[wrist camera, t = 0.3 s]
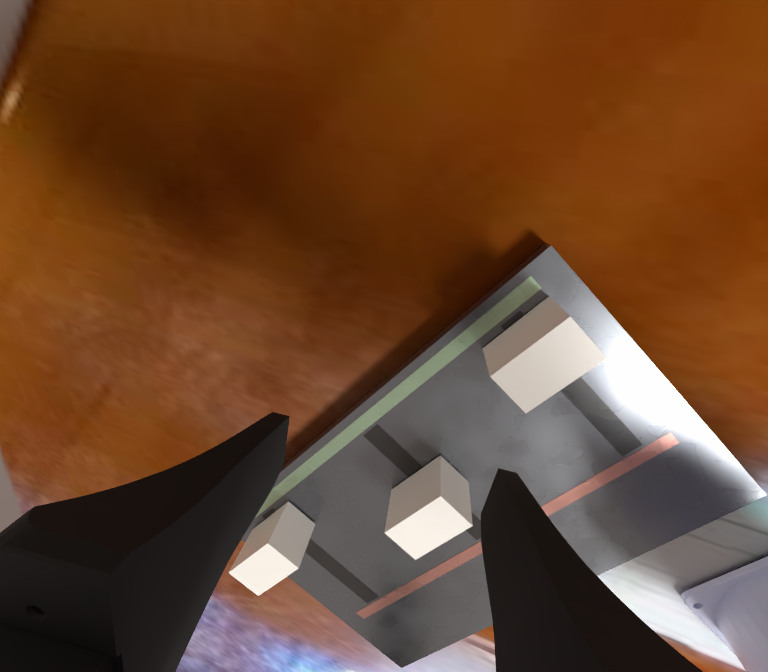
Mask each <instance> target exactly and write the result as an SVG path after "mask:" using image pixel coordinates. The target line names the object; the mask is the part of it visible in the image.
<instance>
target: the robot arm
mask: <svg viewBox="0 0 768 672" xmlns="http://www.w3.org/2000/svg"><path fill="white" fill-rule="evenodd" d="M288 425H289V416H286V415H282V414H278V413H274V412H272V413H270V414H269V415H267V416H265V417H264V418H262V419H260V420H259V421H257V422H256V423H254V424H252V425H251V426H249V427H248V428H246V429H244V430H243V431H241V432H240V433H238V434H236V435H235V436H233V437H231V438H229V439H228V440H226V441H224V442H223V443H221V444H219V445H217V446H215V447H214V448H212V449H210V450H208V451H206V452H204V453H202V454H200V455H198V456H196V457H194V458H192V459H190V460H188V461H186V462H183V463H181V464H179V465H176V466H174V467H172V468H169V469H167V470H165V471H162V472H159V473H156V474H154V475H151V476H148V477H145V478H142V479H140V480H137V481H134V482H131V483H128V484H125V485H122V486H118V487H115V488H112V489H108V490H105V491H101V492H97V493H94V494H90V495H86V496H82V497H78V498H73V499H68V500H64V501H59V502H55V503H50V504H45V505H40V506H35V507H33V508H32V509H31V510H29V511H28V512H26V513H25V514H24V515H23V516H21V517H20V518H19V519H17V520H16V521H15V522H13V523H12V524H11V525H10V526H8V527H7V528H6V529H4V530H3V531H2V532H1V533H0V672H175V671H176V669H177V667H178V665H179V662H180V660H181V658H182V656H183V654H184V652H185V650H186V647H187V645H188V643H189V641H190V639H191V637H192V634H193V632H194V630H195V628H196V626H197V624H198V622H199V620H200V618H201V615H202V613H203V611H204V609H205V607H206V605H207V603H208V601H209V599H210V597H211V595H212V593H213V591H214V589H215V587H216V585H217V583H218V581H219V579H220V577H221V575H222V573H223V571H224V569H225V567H226V565H227V563H228V561H229V559H230V557H231V556H232V554H233V552H234V550H235V549H236V547H237V545H238V544H239V542H240V541H241V539H242V537H243V536H244V534H245V533H246V531H247V529H248V528H249V526H250V525H251V523H252V521H253V520H254V518H255V517H256V515H257V513H258V512H259V510H260V508H261V507H262V505H263V504H264V502H265V500H266V499H267V497H268V495H269V494H270V492H271V490H272V488H273V486H274V484H275V482H276V480H277V478H278V476H279V473H280V471H281V469H282V467H283V465H284V458H285V450H286V441H287V433H288ZM481 546H482V553H483V560H484V567H485V574H486V580H487V587H488V593H489V600H490V607H491V613H492V620H493V629H494V641H495V658H496V672H703V671H701V670H700V669H699V668H697V667H696V666H695V665H694V664H692V663H691V662H690V661H688V660H687V659H686V658H685V657H684V656H682V655H681V654H680V653H679V652H678V651H676V650H675V649H674V648H673V647H672V646H670V645H669V644H668V643H667V642H666V641H665V640H663V639H662V638H661V637H660V636H659V635H657V634H656V633H655V632H654V631H653V630H652V629H651V628H650V627H649V626H647V625H646V624H645V623H644V622H643V621H642V620H641V619H640V618H639V617H637V616H636V615H635V614H634V613H633V612H632V611H631V610H630V609H629V608H628V607H627V606H626V605H625V604H624V603H623V602H622V601H621V600H620V599H619V598H618V597H617V596H616V595H615V594H614V593H613V592H612V591H611V590H610V589H609V588H608V587H607V586H606V585H605V584H604V583H603V582H602V581H601V580H600V579H599V578H598V577H597V576H596V574H595V573H594V572H593V571H592V570H591V569H590V568H589V567H588V566H587V565H586V564H585V562H584V561H583V560H582V559H581V558H580V557H579V555H578V554H577V553H576V552H575V551H574V549H573V548H572V547H571V546H570V545H569V543H568V542H567V541H566V540H565V538H564V537H563V536H562V535H561V533H560V532H559V531H558V529H557V528H556V527H555V525H554V524H553V523H552V522H551V520H550V519H549V517H548V516H547V515H546V513H545V512H544V511H543V509H542V508H541V506H540V505H539V504H538V502H537V501H536V499H535V498H534V496H533V495H532V494H531V492H530V491H529V489H528V488H527V486H526V485H525V484H524V482H523V481H522V479H521V478H520V477H519V475H518V474H517V473H516V472H512V471H508V470H504V469H500V468H498V470H497V473H496V475H495V478H494V481H493V483H492V486H491V488H490V491H489V494H488V496H487V499H486V502H485V504H484V507H483V509H482V512H481ZM681 597H682V599H683V601H684V602H685V604H686V605H687V606H688V607H689V608H690V609H691V610H692V611H693V612H694V613H695V614H696V615H697V616H698V617H699V618H700V619H701V620H702V621H703V622H704V623H705V624H706V625H707V626H708V627H709V628H710V629H711V630H712V631H713V632H714V633H715V634H716V635H717V636H718V637H719V638H720V639H721V640H722V641H723V642H724V643H725V644H726V645H727V646H728V647H729V649H730V650H731V651H732V652H733V653H734V654H735V655H736V656H737V657H738V659H739V660H740V662H741V663H742V665H743V667H744V668H745V670H746V671H747V672H768V556H767V557H765V558H762V559H760V560H758V561H755V562H753V563H750V564H748V565H746V566H743V567H741V568H738V569H736V570H734V571H731V572H729V573H727V574H724V575H722V576H719V577H717V578H715V579H712V580H710V581H708V582H705V583H703V584H700V585H698V586H696V587H693V588H691V589H689V590H686V591H684V592H683V593H682V595H681Z"/></svg>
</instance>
